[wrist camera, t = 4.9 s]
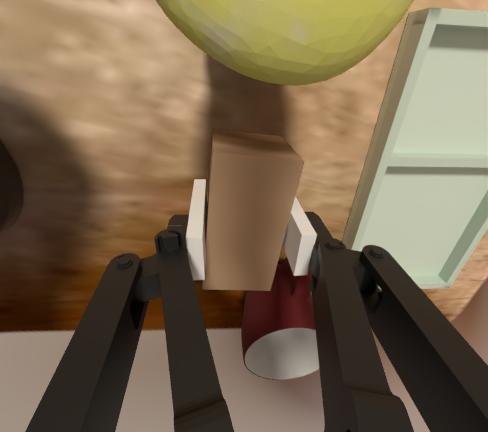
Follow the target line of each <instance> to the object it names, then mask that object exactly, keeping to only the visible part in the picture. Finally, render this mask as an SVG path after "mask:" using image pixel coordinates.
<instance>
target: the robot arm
mask: <svg viewBox="0 0 488 432" xmlns="http://www.w3.org/2000/svg"><path fill="white" fill-rule="evenodd" d="M22 202H23V191H22V184H21V180H20V177H19V174H18V171H17V169H16V167H15V165H14V163H13V161H12V159H11V157H10V155H9V154H8V152H7V151H6V149H5V148H4V146H3V145H2V144H1V142H0V234H1V233H2V232H4V231H5V230H6V229H7V228H9V227H10V226H11V225H12V224H13V223H14V222H15V220H16V219H17V217H18V215H19V213H20V211H21V207H22ZM206 225H207V194H206V179H195V180H194V186H193V193H192V200H191V206H190V213H189V215H174V216H173V217H172V218H171V219H170V220H169V224H168V228H167V230H163V231H161V232H159V233H158V234H157V235H156V236H155V245H156V250H157V253H156V254H155V255H153V256H150V257H147V258H143V259H140V258H139V257H138V256H137V255H135V254H131V253H127V254H122V255H119V256H116V257H115V258H114V259H112V260H111V261H110V263H109V264H108V266H107V268H106V270H105V272H104V274H103V276H102V278H101V280H100V282H99V284H98V286H97V288H96V290H95V292H94V294H93V296H92V298H91V300H90V302H89V304H88V306H87V308H86V310H85V313H84V315H83V317H82V319H81V321H80V323H79V325H78V327H77V329H76V331H75V333H74V335H73V337H72V339H71V341H70V343H69V345H68V347H67V349H66V351H65V353H64V355H63V357H62V359H61V361H60V363H59V365H58V367H57V369H56V371H55V373H54V375H53V377H52V379H51V381H50V383H49V385H48V387H47V389H46V391H45V393H44V395H43V397H42V400H41V401H40V403H39V405H38V407H37V409H36V411H35V413H34V415H33V417H32V419H31V421H30V423H29V425H28V427H27V430H26V432H115V430H116V426H117V422H118V418H119V414H120V411H121V407H122V402H123V399H124V395H125V391H126V387H127V383H128V380H129V376H130V372H131V368H132V364H133V360H134V357H135V353H136V349H137V345H138V341H139V337H140V333H141V330H142V326H143V322H144V318H145V314H146V310H147V306H148V303H149V300H152V299H155V298H159V297H162V305H163V314H164V324H165V333H166V342H167V352H168V361H169V371H170V379H171V390H172V399H173V409H174V431H175V432H234V430H233V426H232V422H231V418H230V414H229V411H228V407H227V404H226V401H225V400H224V398H223V396H222V392H221V388H220V384H219V380H218V376H217V372H216V369H215V365H214V360H213V356H212V352H211V348H210V344H209V341H208V336H207V332H206V328H205V324H204V320H203V316H202V312H201V308H200V304H199V300H198V296H197V292H196V288H195V284H194V280H205V260H206ZM283 247H284V250H285V253H286V256H287V258H288V261H289V264H290V267H291V270H292V272H293V275H294V276H301V275H308V270H309V268H310V270H311V272H312V275H311V279H310V283H309V287H308V291H310V289H311V291H312V301H313V311H314V320H315V330H316V340H317V349H318V359H319V369H320V378H321V387H322V398H323V407H324V417H325V430H324V432H414V430H413V428H412V425H411V422H410V419H409V416H408V413H407V410H406V408H405V405H404V403H403V402H402V401H401V399H400V398H399V397H397V396H395V395H393V394H392V392H391V391H390V388H389V385H388V382H387V379H386V376H385V372H384V369H383V366H382V363H381V359H380V356H379V353H378V350H377V346H376V343H375V340H374V337H373V334H372V330H373V332H374V333H375V335H376V337H377V338H378V340H379V342H380V344H381V346H382V347H383V349H384V351H385V353H386V354H387V356H388V358H389V360H390V361H391V363H392V365H393V367H394V368H395V370H396V372H397V374H398V375H399V377H400V379H401V381H402V382H403V384H404V386H405V388H406V390H407V391H408V393H409V395H410V396H411V398H412V400H413V402H414V404H415V405H416V407H417V409H418V411H419V412H420V414H421V416H422V418H423V419H424V421H425V423H426V425H427V426H428V428H429V430H430V432H488V365H487V364H486V363H485V362H484V361H483V360H482V359H481V357H480V356H479V355H478V354H477V353H476V352H475V350H474V349H473V348H472V347H471V346H470V345H469V344H468V342H467V341H466V340H465V339H464V338H463V337H462V336H461V334H460V333H459V332H458V331H457V330H456V329H455V328H454V327H453V325H452V324H451V323H450V322H449V321H448V320H447V318H446V317H445V316H444V315H443V314H442V313H441V312H440V310H439V309H438V308H437V307H436V306H435V305H434V304H433V302H432V301H431V300H430V299H429V298H428V297H427V296H426V294H425V293H424V292H423V291H422V290H421V289H420V288H419V286H418V285H417V284H416V283H415V282H414V281H413V280H412V278H411V277H410V276H409V275H408V274H407V273H406V272H405V270H404V269H403V268H402V267H401V266H400V265H399V264H398V262H397V261H396V260H395V259H394V258H393V257H392V256H391V254H390V253H389V252H388V251H386V250H385V249H383V248H382V247H379V246H376V245H366V246H364V247H363V249H362V252H361V251H356V250H350V249H346V246H345V245H344V243H342V242H341V241H339V240H337V239H334V238H333V237H332V236H331V234H330V233H329V231H328V230H327V228H326V226H325V225H324V223H323V222H322V220H321V219H320V217H319V216H318V215H317V214H315V213H314V212H304V211H303V209H302V207H301V206H300V204H299V202H298V200H297V199H296V197H295V199H294V203H293V206H292V210H291V212H290V218H289V222H288V225H287V229H286V233H285V237H284V241H283ZM378 286H379V287H380V289H381V290H380V289H379V287H378ZM370 326H371V327H370ZM371 328H372V330H371Z"/></svg>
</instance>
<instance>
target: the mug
mask: <svg viewBox="0 0 488 432" xmlns="http://www.w3.org/2000/svg"><path fill="white" fill-rule="evenodd" d="M311 275H312V272H311V270H310V268H309V270H308V275H301V276H294V275H293V272H292V270H291V267H290V264H289V261H288V258H286V259H285V261H284V263H283V264H280V263H278V264H277V267H276V271H275V275H274V279H273V283H272V286H271V290H270V291H255V290H246V294H245V303H244V311H243V320H242V347H243V358H244V363H245V366H246V367H247V369H248V370H249V371H251V372H252V373H253V374H255V375H257V376H259V377H262V378H266V379H272V380H286V379H294V378H299V377H302V376H305V375H308V374H310V373H313V372H315V371H316V370H318V369H319V359H318V349H317V340H316V330H315V320H314V311H313V301H312V296H311V294H310V292H311V289H310V291H308V287H309V283H310V279H311Z"/></svg>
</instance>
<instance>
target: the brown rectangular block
mask: <svg viewBox="0 0 488 432" xmlns="http://www.w3.org/2000/svg"><path fill="white" fill-rule="evenodd" d="M303 165H304V161H303V160H302V159H301V157H300V156H299V155H298V154H297V153H296V152H295V151H294V150H293V148H292V147H291V146H290V145H289V144H288V143H287V142H286V141H285V140H284V138H283V137H282V136H276V135H267V134H259V133H250V132H241V131H233V130H224V129H216V128H213V134H212V147H211V161H210V175H209V189H208V203H207V225H206V260H205V280H203V287H202V289H203V290H255V291H270V290H271V286H272V283H273V279H274V275H275V271H276V267H277V264H278V260H279V256H280V252H281V248H282V245H283V241H284V237H285V233H286V229H287V225H288V222H289V218H290V212H291V210H292V206H293V203H294V199H295V195H296V191H297V187H298V184H299V180H300V176H301V172H302V168H303Z"/></svg>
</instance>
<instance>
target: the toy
mask: <svg viewBox="0 0 488 432" xmlns="http://www.w3.org/2000/svg"><path fill="white" fill-rule="evenodd" d="M156 1H157V3H158V4H159V5H160V7H161V8H162V10H163V11H164V13H165V14H166V15H167V17H168V18H169V19H170V20H171V21H172V23H173V24H174V25H175V26H176V27H177V28H178V29H179V30H180V31H181V32H182V33H183V34H184V35H185V36H186V37H187V38H188V39H189V40H190V41H191V42H193V43H194V44H195V45H196V46H197V47H199V48H200V49H201V50H202V51H204V52H205V53H206V54H208V55H209V56H210V57H211V58H213V59H215V60H216V61H218V62H220V63H221V64H223V65H225V66H227V67H229V68H230V69H232V70H234V71H236V72H238V73H241V74H243V75H245V76H248V77H250V78H253V79H257V80H260V81H264V82H267V83H273V84H280V85H306V84H312V83H317V82H321V81H326V80H328V79H330V78H333V77H335V76H337V75H340V74H342V73H344V72H345V71H347V70H348V69H350V68H352V67H353V66H355V65H356V64H358V63H359V62H360V61H362V60H363V59H364V58H365V57H367V56H368V55H369V54H370V53H371V52H372V51H373V50H374V49H375V48H376V47H377V46H378V45H379V44H380V43H381V42H382V41H383V40H384V39H385V38H386V37H387V36H388V35H389V34H390V32H391V31H392V30H393V29H394V27H395V26H396V25H397V24H398V22H399V21H400V20H401V19H402V17H403V16H404V15H405V13H406V11H407V10H408V8H409V7H410V5H411V4H412V2H413V0H156Z"/></svg>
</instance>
